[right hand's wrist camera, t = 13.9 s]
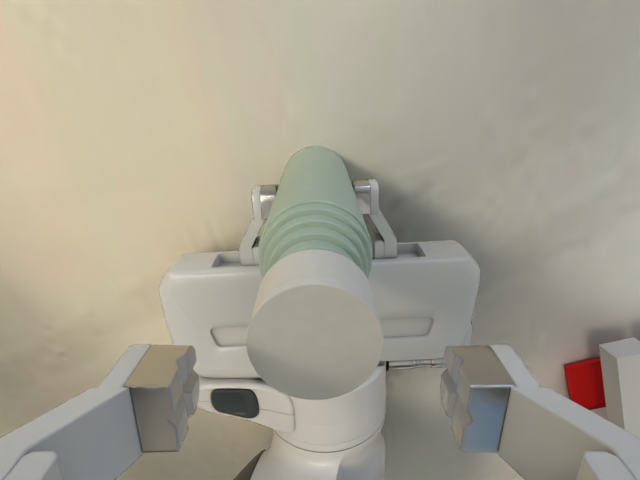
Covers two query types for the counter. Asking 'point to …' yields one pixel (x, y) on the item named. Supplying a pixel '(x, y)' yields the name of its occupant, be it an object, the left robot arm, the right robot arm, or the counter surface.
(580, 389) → the toy
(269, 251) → the bottle
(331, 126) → the counter surface
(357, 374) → the cap
